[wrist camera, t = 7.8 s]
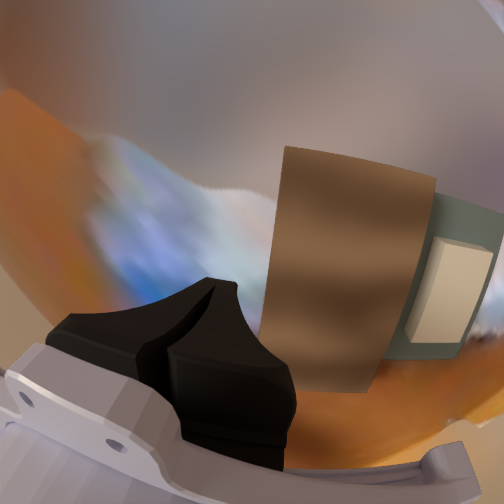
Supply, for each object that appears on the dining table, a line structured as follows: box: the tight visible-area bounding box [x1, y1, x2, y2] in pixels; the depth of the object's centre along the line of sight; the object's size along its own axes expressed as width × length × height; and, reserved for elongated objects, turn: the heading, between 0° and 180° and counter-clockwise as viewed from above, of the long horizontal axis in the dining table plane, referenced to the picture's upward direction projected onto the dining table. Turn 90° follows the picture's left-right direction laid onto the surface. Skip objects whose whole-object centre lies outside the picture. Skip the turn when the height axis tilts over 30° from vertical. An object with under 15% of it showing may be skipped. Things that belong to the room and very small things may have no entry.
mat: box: [383, 192, 504, 360], centre depth 21 cm, size 16×12×1 cm
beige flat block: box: [404, 236, 493, 343], centre depth 20 cm, size 9×6×2 cm, turn 174°
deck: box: [258, 146, 436, 393], centre depth 20 cm, size 18×10×4 cm, turn 174°
